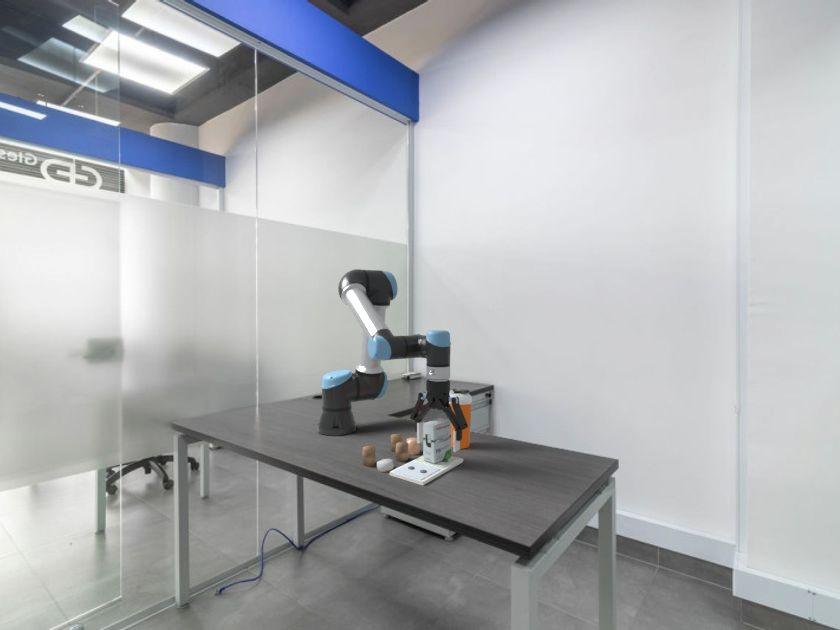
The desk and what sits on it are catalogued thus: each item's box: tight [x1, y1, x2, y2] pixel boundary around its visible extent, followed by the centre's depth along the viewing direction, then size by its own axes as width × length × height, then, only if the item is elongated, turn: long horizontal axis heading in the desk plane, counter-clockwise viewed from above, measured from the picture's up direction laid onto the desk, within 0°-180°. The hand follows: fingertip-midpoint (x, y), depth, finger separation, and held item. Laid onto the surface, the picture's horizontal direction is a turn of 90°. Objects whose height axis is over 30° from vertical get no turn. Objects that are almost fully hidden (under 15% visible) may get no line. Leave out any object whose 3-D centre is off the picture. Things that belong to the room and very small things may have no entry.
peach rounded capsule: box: [406, 436, 421, 456], centre depth 140 cm, size 4×4×4 cm
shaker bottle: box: [447, 388, 473, 450], centre depth 148 cm, size 9×9×20 cm
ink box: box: [422, 418, 452, 464], centre depth 131 cm, size 9×5×12 cm, turn 137°
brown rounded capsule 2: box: [394, 441, 409, 463], centre depth 134 cm, size 4×4×5 cm
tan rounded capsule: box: [361, 445, 376, 467], centre depth 130 cm, size 4×4×5 cm
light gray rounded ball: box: [376, 458, 395, 473], centre depth 126 cm, size 5×5×2 cm
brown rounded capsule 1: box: [390, 433, 403, 453], centre depth 143 cm, size 4×4×5 cm
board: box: [389, 455, 464, 486], centre depth 127 cm, size 12×22×1 cm, turn 144°
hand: (437, 446), depth 131 cm, fingers open, 13 cm apart
